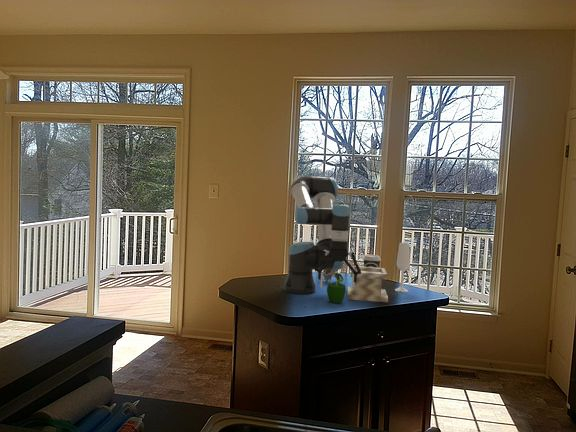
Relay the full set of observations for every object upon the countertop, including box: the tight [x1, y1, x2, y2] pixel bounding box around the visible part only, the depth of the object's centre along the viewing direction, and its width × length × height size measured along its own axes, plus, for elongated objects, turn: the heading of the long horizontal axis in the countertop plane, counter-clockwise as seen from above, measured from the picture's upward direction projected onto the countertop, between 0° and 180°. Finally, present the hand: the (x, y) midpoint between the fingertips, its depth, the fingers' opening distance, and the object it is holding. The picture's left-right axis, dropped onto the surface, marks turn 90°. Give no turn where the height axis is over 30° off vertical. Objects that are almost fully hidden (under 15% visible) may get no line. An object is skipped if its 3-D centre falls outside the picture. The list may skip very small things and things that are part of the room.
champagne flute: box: [394, 242, 411, 293], centre depth 232 cm, size 7×7×24 cm
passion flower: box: [322, 270, 348, 284], centre depth 246 cm, size 11×11×12 cm
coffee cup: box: [362, 254, 382, 268], centre depth 246 cm, size 10×10×15 cm
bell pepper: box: [326, 278, 347, 304], centre depth 202 cm, size 8×8×10 cm
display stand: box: [346, 265, 389, 303], centre depth 216 cm, size 18×18×12 cm
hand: (336, 288), depth 201 cm, fingers open, 13 cm apart
